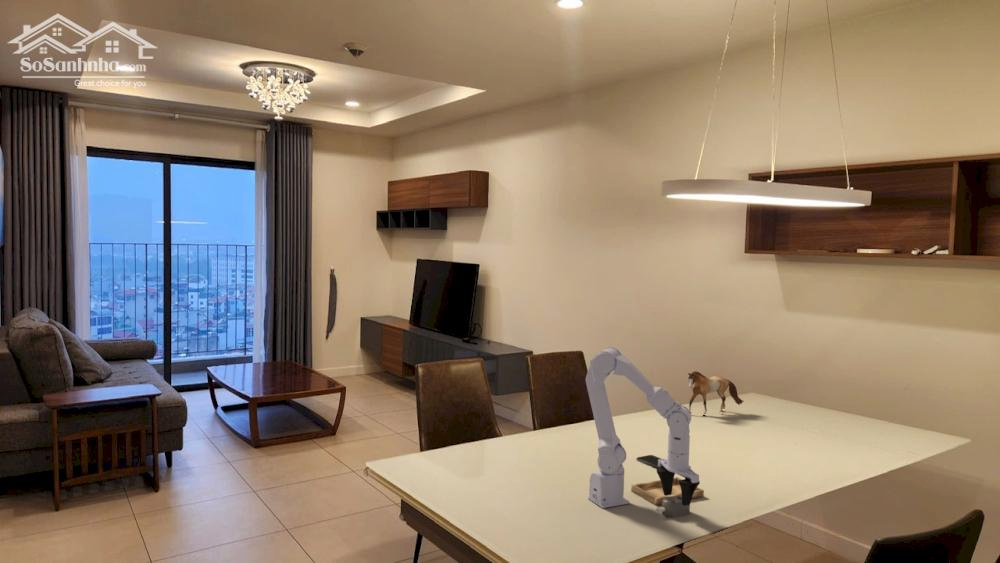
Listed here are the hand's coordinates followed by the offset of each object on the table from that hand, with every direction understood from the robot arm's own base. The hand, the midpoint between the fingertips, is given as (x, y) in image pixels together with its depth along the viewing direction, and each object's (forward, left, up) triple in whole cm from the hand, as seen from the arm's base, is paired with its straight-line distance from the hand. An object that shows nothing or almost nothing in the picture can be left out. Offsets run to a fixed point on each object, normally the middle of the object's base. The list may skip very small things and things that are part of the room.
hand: (676, 499), depth 173 cm
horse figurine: (+90, +78, -4) cm, 119 cm away
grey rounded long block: (0, 0, -4) cm, 4 cm away
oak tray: (+7, +12, -4) cm, 14 cm away
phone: (+22, +34, -5) cm, 41 cm away
